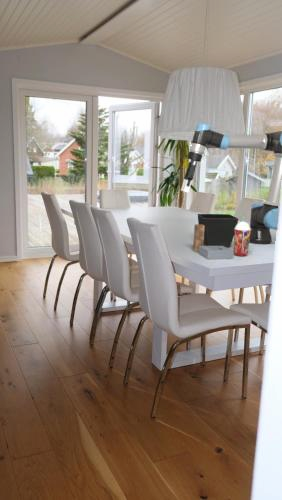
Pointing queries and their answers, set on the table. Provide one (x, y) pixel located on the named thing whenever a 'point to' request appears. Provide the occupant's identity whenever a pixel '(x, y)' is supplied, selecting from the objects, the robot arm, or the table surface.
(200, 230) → the peg
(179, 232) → the table surface
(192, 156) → the robot arm
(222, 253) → the socket block
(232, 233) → the flower pot
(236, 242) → the smoothie
